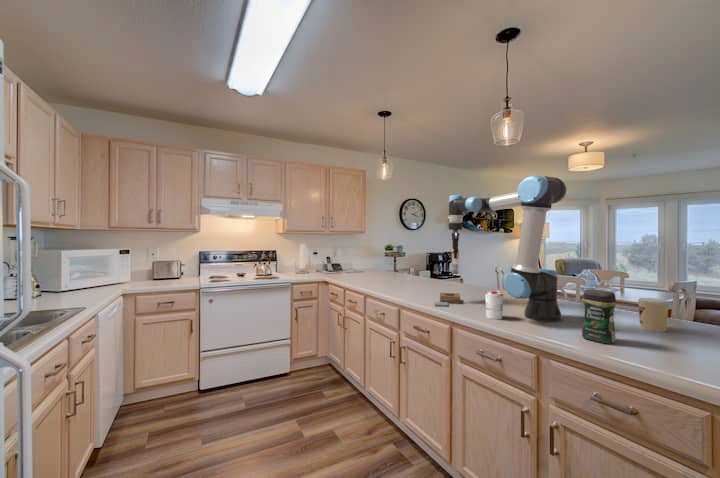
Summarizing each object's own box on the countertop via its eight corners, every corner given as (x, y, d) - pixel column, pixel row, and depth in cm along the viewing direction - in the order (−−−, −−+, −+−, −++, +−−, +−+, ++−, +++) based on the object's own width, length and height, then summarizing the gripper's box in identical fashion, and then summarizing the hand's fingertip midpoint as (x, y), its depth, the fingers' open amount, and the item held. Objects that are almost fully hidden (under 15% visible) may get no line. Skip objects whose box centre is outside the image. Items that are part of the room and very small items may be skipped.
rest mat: (447, 306, 171) (447, 304, 171) (434, 306, 173) (434, 304, 173) (447, 303, 178) (447, 302, 178) (434, 303, 180) (434, 301, 180)
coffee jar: (578, 338, 119) (578, 289, 119) (589, 334, 123) (589, 287, 123) (609, 346, 111) (609, 293, 110) (619, 342, 115) (619, 291, 114)
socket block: (460, 304, 177) (460, 297, 177) (440, 303, 180) (440, 296, 180) (459, 300, 188) (459, 293, 188) (440, 299, 191) (440, 292, 191)
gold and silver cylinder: (458, 274, 178) (459, 249, 177) (451, 273, 179) (451, 249, 178) (458, 273, 182) (458, 248, 181) (451, 272, 183) (451, 248, 182)
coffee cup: (638, 324, 136) (638, 296, 136) (669, 328, 130) (669, 299, 129) (636, 329, 130) (636, 300, 130) (668, 334, 123) (668, 303, 123)
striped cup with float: (508, 320, 144) (508, 294, 144) (489, 320, 144) (489, 294, 144) (498, 314, 154) (498, 290, 154) (481, 314, 154) (481, 290, 154)
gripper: (448, 222, 188) (447, 262, 189) (449, 222, 172) (448, 265, 173) (461, 222, 187) (460, 262, 187) (463, 222, 170) (463, 265, 171)
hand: (455, 263), depth 180 cm, fingers closed on gold and silver cylinder, 4 cm apart
